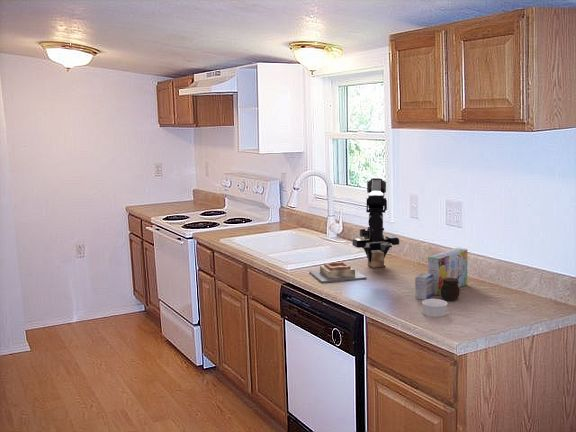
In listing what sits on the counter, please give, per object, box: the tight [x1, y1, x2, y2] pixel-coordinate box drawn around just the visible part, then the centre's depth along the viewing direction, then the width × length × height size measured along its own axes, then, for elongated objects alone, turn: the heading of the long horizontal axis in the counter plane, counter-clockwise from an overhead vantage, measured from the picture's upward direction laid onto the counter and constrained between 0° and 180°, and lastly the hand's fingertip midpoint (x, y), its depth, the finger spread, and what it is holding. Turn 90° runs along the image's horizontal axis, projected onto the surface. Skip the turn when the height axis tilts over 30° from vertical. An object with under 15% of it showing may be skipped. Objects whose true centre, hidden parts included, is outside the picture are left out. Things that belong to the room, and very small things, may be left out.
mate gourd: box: [440, 274, 462, 302], centre depth 246 cm, size 7×8×10 cm
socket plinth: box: [319, 261, 356, 279], centre depth 284 cm, size 12×12×4 cm
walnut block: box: [367, 250, 385, 269], centre depth 269 cm, size 5×5×6 cm
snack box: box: [427, 247, 468, 296], centre depth 260 cm, size 21×6×15 cm, turn 134°
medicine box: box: [414, 272, 434, 301], centre depth 250 cm, size 8×4×9 cm, turn 148°
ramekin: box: [421, 298, 448, 318], centre depth 230 cm, size 9×9×4 cm
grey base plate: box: [308, 269, 367, 284], centre depth 284 cm, size 20×18×1 cm
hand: (375, 262), depth 269 cm, fingers closed on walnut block, 5 cm apart
